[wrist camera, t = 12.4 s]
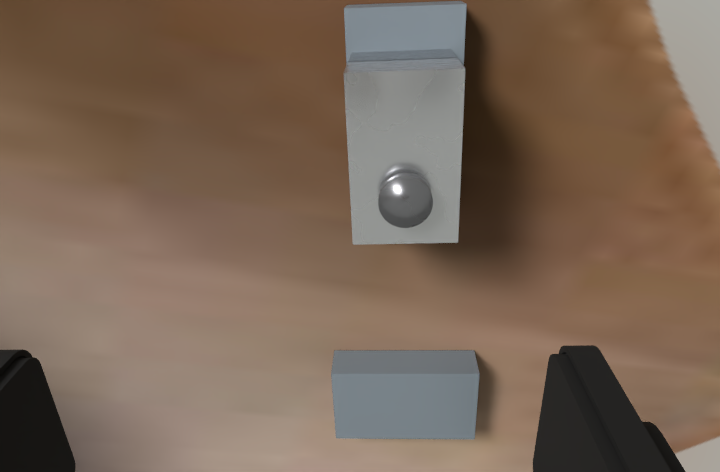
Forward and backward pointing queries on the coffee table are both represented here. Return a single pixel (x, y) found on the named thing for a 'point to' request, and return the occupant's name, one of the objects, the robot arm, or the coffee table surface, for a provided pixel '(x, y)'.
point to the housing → (404, 145)
